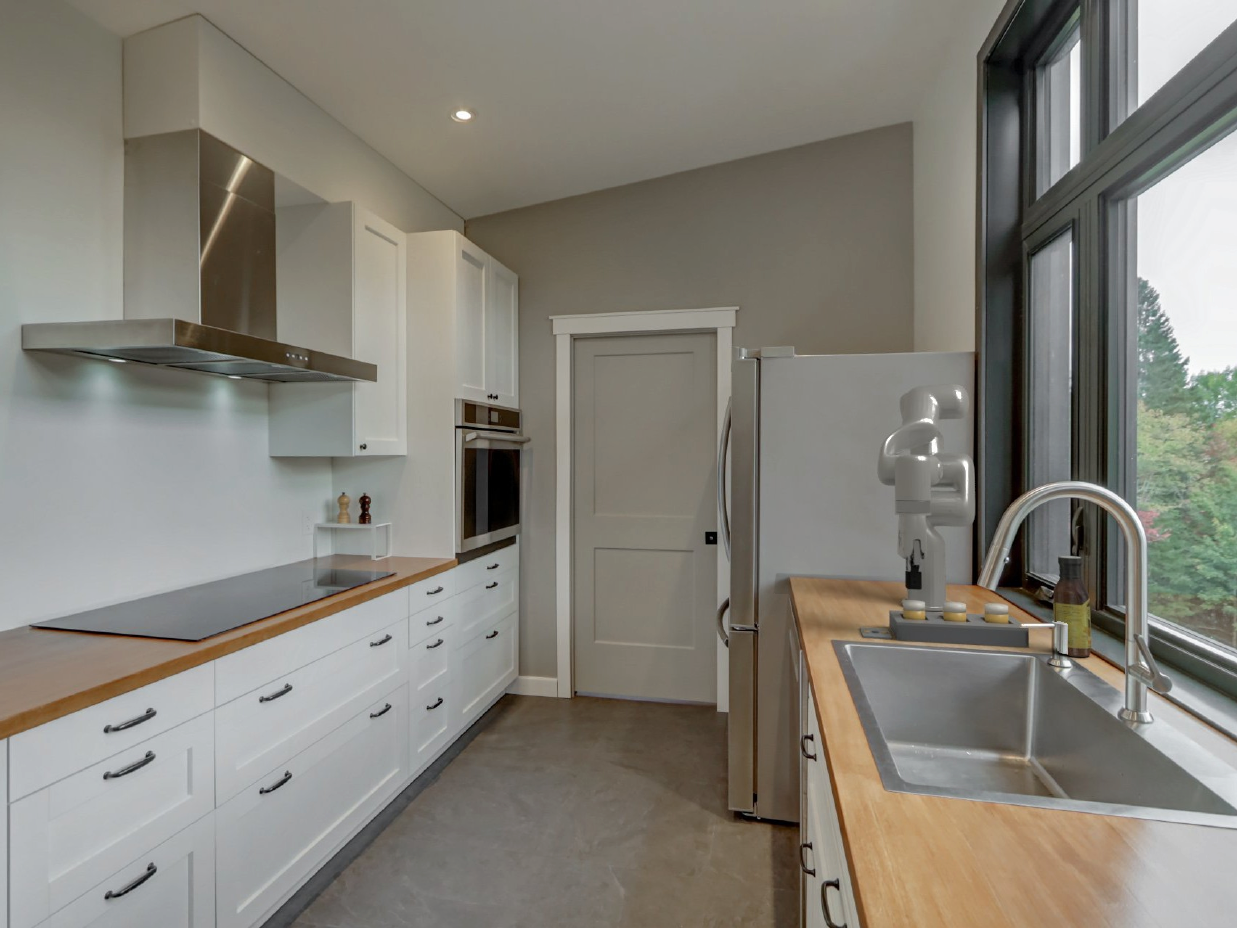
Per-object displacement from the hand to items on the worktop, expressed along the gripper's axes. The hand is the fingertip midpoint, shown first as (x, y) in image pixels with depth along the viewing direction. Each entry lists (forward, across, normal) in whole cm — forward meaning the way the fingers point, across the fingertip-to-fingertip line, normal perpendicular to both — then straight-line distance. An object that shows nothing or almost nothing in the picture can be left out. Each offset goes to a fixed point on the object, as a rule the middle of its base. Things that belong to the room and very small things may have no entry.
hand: (913, 588), depth 151 cm
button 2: (+9, -1, +17) cm, 19 cm away
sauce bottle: (+11, +8, +29) cm, 32 cm away
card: (+11, 0, -8) cm, 14 cm away
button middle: (+9, -1, +9) cm, 12 cm away
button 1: (+9, -1, 0) cm, 9 cm away
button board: (+11, -1, +9) cm, 14 cm away
